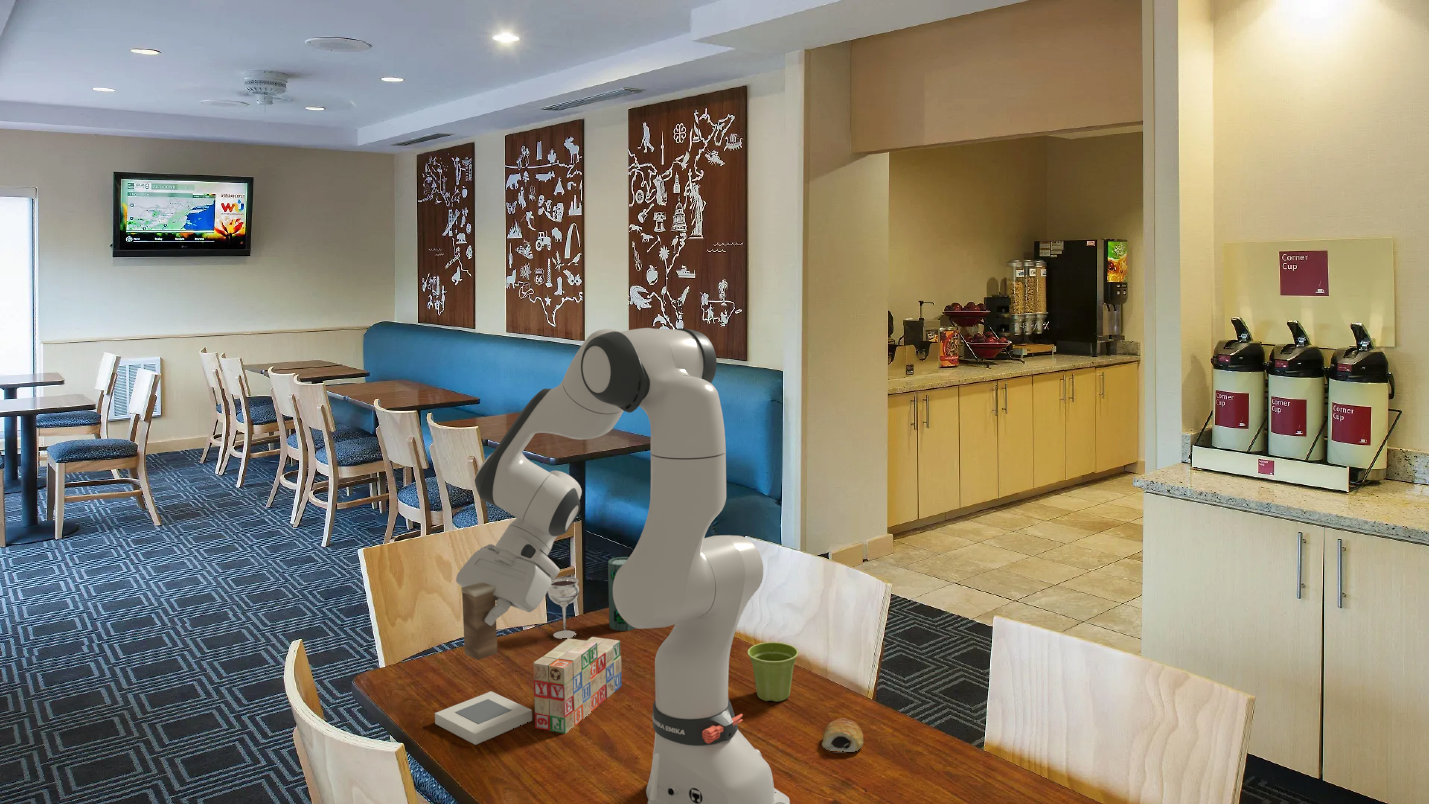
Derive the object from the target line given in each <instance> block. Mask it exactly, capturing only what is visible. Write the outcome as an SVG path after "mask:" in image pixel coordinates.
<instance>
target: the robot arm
mask: <svg viewBox="0 0 1429 804" xmlns="http://www.w3.org/2000/svg"><path fill="white" fill-rule="evenodd" d="M716 371H717V355H716V350H715V347H714V346H713V344H712V342H711V341H710V339H709V337H708V336H706V335H705V334H704V333H702V332H700V331H696V330H694V329H689V328H682V327H680V328H676V329H670V328H669V329H668V328H652V327H644V328H643V327H642V328H633V329H629V330H624V331H623V330H622V331H619V330H616V329H609V328H604V329H599V330H596V331H594V332H592V333H591V334H590V335H589V336H587V338H586V339H585V340H584V342H583V343H582V344H581V345H580V347H579V349H577V352H576V354H575V355H574V356H573V359H572V360H571V362H570V364H569V365H568V367H567V370H566V372H565V374H564V377H563V379H562V381H561V382H560V384H559V385H556V386H555V387H554V388H543V389H541V390H540V391H538V392H537V393H536V394H535V395H534V396H533V397H532V398H531V399H530V400H529V401H528V403H527V404H526V405H525V406H524V408H523V409H522V410H521V412H520V413H519V415H518V416H517V418H516V419H515V420H514V422H513V423H512V424H511V426H510V428H509V429H508V430H507V431H506V433H505V435H504V436H503V437H502V439H501V440H500V442H499V443H498V445H497V446H496V447H495V449H494V450H493V452H492V453H490V455H488V456H487V457H486V459H485V460H484V461H483V462H482V464H481V465H480V466H479V468H478V470H477V472H476V475H475V478H474V484H475V488H476V491H477V494H478V496H479V499H481V500H482V501H484V502H486V503H489V504H490V505H493V506H495V507H498V508H500V509H502V510H504V512H507V513H508V514H510V515H512V516H514V517H515V519H514V520H513V521H511V522H510V524H508V526H507V528H506V529H505V530H504V532H503V534H502V535H501V537H500V538H499V540H498V541H497V542H496V544H495V545H494V544H491V543H489V544H487V545H485V546H484V547H482V546H481V548H479V549H478V550H476V551H475V552H474V553H473V554H471V556H470V557H469V559H467V561H466V562H465V563H464V565H463V566H462V567H461V569H460V570H459V571H458V573H457V574H456V579H455V583H457V584H458V585H459V586H460V587H461V588H462V587H465V586H469V585H472V584H476V583H479V582H483V583H486V584H489V585H491V586H494V587H495V591H494V593H493V595H494V596H495V605H496V606H495V607H494V608H493V609H491V610H490V611H489V612H488V611H486V612H485V614H484V616H483V617H482V619H481V620H482V621H483V622H484V623H485V624H487V625H490V626H492V625H493V624H494V622H495V621H496V622H497V619H498V618H500V617H501V616H502V615H504V614H505V613H507V612H508V611H509V609H510V608H511V607H514V608H515V609H518V610H521V611H525V612H527V613H532V612H533V611H535V610H536V609H538V607H539V606H540V605H541V603H542V602H543V600H544V599H545V597H546V595H547V594H548V590H549V588H550V586H551V582H552V581H551V579H554V578H557V576H558V575H559V573H560V571H561V570H560V568H559V566H557V565H556V563H555V562H554V561H553V560H552V559H550V558H549V556H548V555H549V553H550V552H551V550H552V548H553V546H554V542H555V540H556V539H557V538H558V537H559V536H562V535H565V534H567V532H568V531H569V529H570V528H571V526H572V524H573V523H574V521H575V520H576V518H577V517H578V515H579V513H580V511H581V502H580V501H581V498H582V497H581V496H582V494H583V493H582V492H583V490H582V488H581V485H580V483H579V482H578V481H577V480H576V479H575V478H574V477H573V476H571V475H570V474H568V473H566V472H563V471H560V470H551V471H548V470H546V469H544V468H543V467H541V466H539V465H538V464H535V462H532V461H531V460H529V459H528V458H527V457H526V456H525V454H524V453H523V451H524V450H525V448H526V447H527V445H529V443H530V442H531V440H532V439H533V437H534V436H535V434H550V435H551V434H552V435H557V436H561V437H565V438H568V439H573V440H581V441H582V440H583V441H584V440H592V439H593V440H594V439H596V438H599V437H602V436H604V435H606V434H608V433H610V432H611V431H612V430H613V429H614V428H615V426H616V424H617V423H618V421H619V420H620V419H621V416H622V414H623V413H624V412H626V413H628V414H630V413H633V412H634V411H636V410H637V409H638V407H639V408H641V409H642V410H643V411H644V412H645V414H646V415H647V417H648V420H649V425H650V496H649V497H650V499H649V507H648V512H647V518H646V519H645V523H644V527H643V530H642V532H641V534H640V537H639V539H638V541H637V544H636V545H635V548H634V549H633V551H632V553H631V554H630V556H629V558H628V559H627V561H626V562H625V563H624V564H623V565H622V566H621V567H620V568H619V570H618V571H617V573H616V576H615V579H614V583H613V599H614V603H615V606H616V608H617V611H618V612H619V614H620V615H621V617H622V618H623V619H624V620H625V621H626V622H627V623H628V624H629V625H631V626H632V627H634V628H635V629H639V630H641V629H643V630H644V629H659V628H660V629H661V628H668V627H671V626H673V628H672V630H671V631H670V633H669V635H668V636H667V637H666V638H665V640H664V641H663V642H662V643H661V644H660V646H659V647H658V649H657V652H656V654H655V660H654V682H655V683H654V685H655V686H654V687H655V689H654V690H655V691H654V692H655V700H653V703H652V704H653V705H652V714H651V719H652V728H653V730H654V732H655V733H654V734H655V735H654V744H653V753H652V761H651V768H650V769H651V770H650V775H649V778H648V782H647V786H646V789H645V793H646V797H647V799H648V800H647V804H791V801H790V798H789V796H787V795H786V794H785V793H783V792H781V791H779V789H777V788H775V787H774V786H775V785H774V777H773V773H772V769H771V767H770V764H769V763H768V762H767V761H766V760H765V758H763V756H762V752H761V751H760V750H759V749H758V748H755V747H754V746H753V745H752V744H751V742H749V741H748V739H747V738H746V737H745V735H743V734H742V733H741V731H740V730H739V725H738V724H739V723H741V722H742V721H744V720H743V719H741V718H742V717H743V713H740V714H738V715H736V716H735V712H734V709H733V705H732V703H731V701H730V699H729V671H730V670H729V669H730V668H729V667H730V665H729V664H730V655H731V651H732V649H731V648H732V645H733V641H734V637H735V634H736V631H737V629H738V625H739V623H740V620H741V617H742V615H743V613H744V610H745V608H746V606H747V605H748V603H749V602H750V600H751V599H752V597H753V596H754V595H755V593H756V592H757V591H758V590H759V589H760V587H761V585H762V583H763V579H764V563H763V558H762V555H761V553H760V552H759V550H758V549H757V547H756V545H755V544H754V543H753V542H752V541H751V540H750V539H748V538H746V537H745V536H742V535H731V534H730V535H729V534H728V535H727V534H726V535H725V534H724V535H712V536H708V537H705V536H706V534H707V531H708V530H709V527H710V526H711V524H712V522H714V520H715V518H716V517H718V516H719V515H720V513H721V512H722V511H723V509H724V507H725V505H726V501H727V459H726V458H727V457H726V456H727V455H726V454H727V448H726V435H725V434H726V431H725V424H724V423H725V422H724V416H723V409H722V405H721V400H720V396H719V392H718V390H717V389H716V387H715V386H714V385H713V384H712V382H713V380H714V378H715V376H716Z"/></svg>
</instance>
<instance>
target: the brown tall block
mask: <svg viewBox="0 0 1429 804" xmlns="http://www.w3.org/2000/svg"><path fill="white" fill-rule="evenodd" d="M494 591H495V587H494V586H491V585H489V584H486V583H483V582H479V583H476V584H472V585H469V586H465V587H462V586H461V595H462V597H461V598H462V620H463V622H462V623H463V642H464V643H463V644H464V645H463V646H464V655H466V656H468V657H471V658H472V659H475V660H477V661H480V660H483V659H485V658H489V657H491V656H493V655H496V654H498V635H497V620H496V621H495V622H494V624H493V625H492V626H490V625H487V624H485V623H484V622H483V621H482V620H481V619H482V617H483V616H484V614H485V612H486V611H488V612H489V611H490V610H491V609H493V608H494V607H495V606H496V605H497V604H496V600H495V596H494V595H493V593H494Z"/></svg>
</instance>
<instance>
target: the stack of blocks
mask: <svg viewBox="0 0 1429 804" xmlns="http://www.w3.org/2000/svg"><path fill="white" fill-rule="evenodd" d="M532 663H533V664H532V668H533V670H532V671H533V696H534V701H533V702H534V728H535V729H537V728H538V729H539V730H542V729H544V730H543V731H547V732H548V731H549V732H554V731H555V732H554V733H560V734H567V733H569V732H570V731H571V730H572V729H573V728H575V727H576V726H577V725H579V724H580V723H581V722H582V721H583V720H584V719H585V717H586V716H587V717H588V716H589V715H591V713H592V712H594V710H595V709H597V708H598V707H599V706H600V705H602V703H603V702H604V701H606V699H608V698H610V697H611V695H613V694H614V693H615V692H616V691H618V690H619V689H621V688H622V684H623V683H622V679H623V678H622V656H621V640H618V639H610V638H602V637H596V636H591V637H590V638H588V639H587V640H583V639H575V638H567V639H564V641H562V642H561V643H560V644H558V645H557V646H556V647H554V648H553V649H552V650H550V651H549V652H547V653H546V654H545V655H543V656H542V657H539V658H538V659H537V660H535V661H534V662H532ZM591 711H592V712H591ZM588 714H589V715H588ZM587 717H586V718H587ZM582 719H583V720H582ZM581 720H582V721H581ZM580 721H581V722H580ZM579 722H580V723H579ZM575 725H576V726H575ZM571 728H572V729H571ZM570 729H571V730H570ZM569 730H570V731H569Z"/></svg>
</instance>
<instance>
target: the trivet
mask: <svg viewBox="0 0 1429 804" xmlns="http://www.w3.org/2000/svg"><path fill="white" fill-rule="evenodd" d="M532 721H533V710H532V709H531V708H528V707H527V706H525V705H522V704H520V703H518V702H515V701H513V700H511V699H509V698H507V697H506V696H505V697H504V696H502V695H500V694H498V693H496V692H494V691H491V690H490V691H488V692H486V693H483V694H481V695H477V696H475V697H473V698H470V699H468V700H465V701H463V702H460V703H457V704H455V705H452V706H449V707H447V708H444V709H442V710H439V711H437V712H434V723H435V725H437V726H439V727H441V728H443V729H444V730H446V731H448V732H450V733H451V734H454V735H456V736H458V737H460V738H462V739H463V740H465V741H467V742H469V743H471V744H473V745H475V746H477V745H478V744H481V743H483V742H486V741H488V740H490V739H493V738H495V737H497V736H499V735H501V734H505V733H506V732H509V731H511V730H513V728H514V729H516V728H518V727H520V725H521V726H523V725H525V724H527V722H528V723H530V722H532Z"/></svg>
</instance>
